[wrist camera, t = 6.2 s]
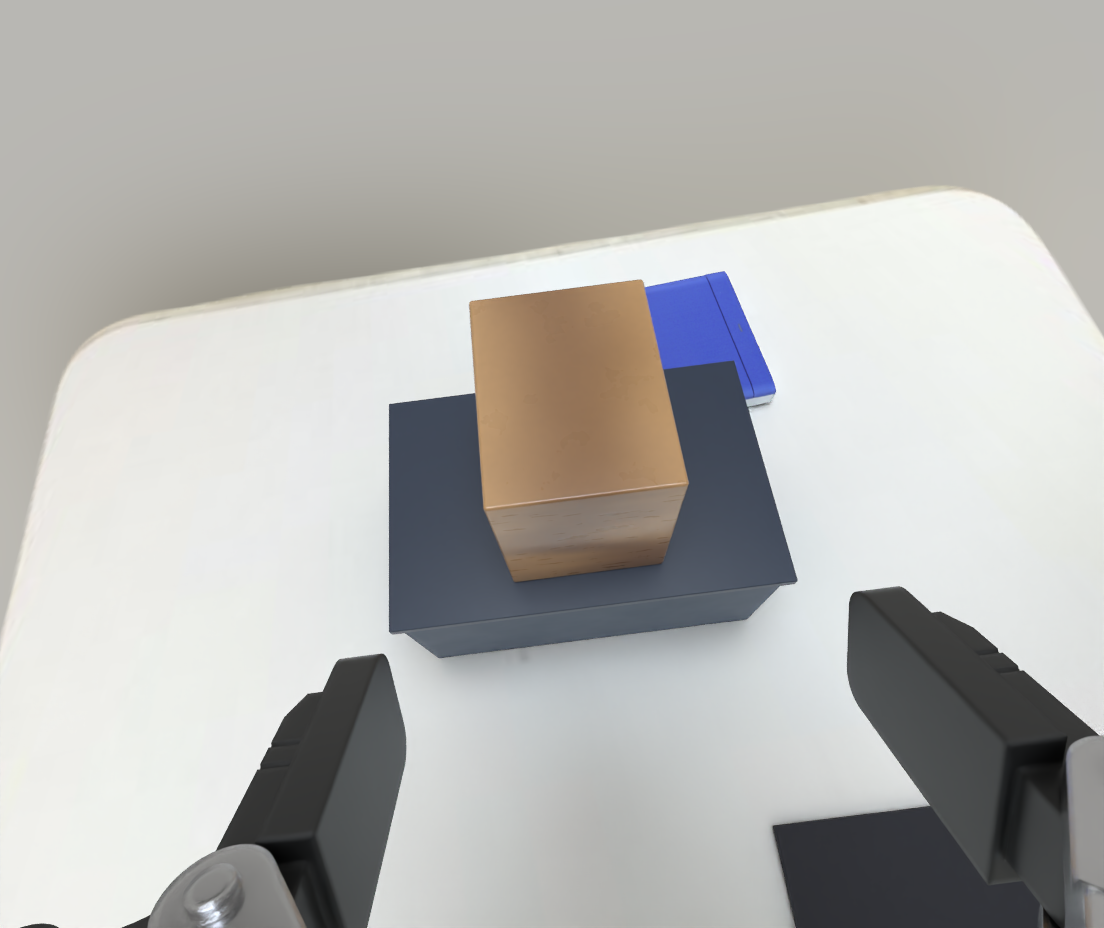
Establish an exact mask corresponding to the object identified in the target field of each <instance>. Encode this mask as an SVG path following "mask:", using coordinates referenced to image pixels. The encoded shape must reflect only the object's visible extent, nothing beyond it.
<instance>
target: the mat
mask: <svg viewBox="0 0 1104 928" xmlns="http://www.w3.org/2000/svg"><path fill="white" fill-rule="evenodd" d="M773 829H774V834H775V838H776V842H777V847H778V851H779V855H780V860H781V864H782V868H783V873H784V877H785V881H786V886H787V890H788V895H789V899H790V903H791V908H792V912H793V916H794V921H795V925H796V928H1038V914H1039V907H1040V903H1039V901H1038V900H1037V899H1036V897H1035V896H1034V895H1033V894H1032V892H1031V891H1030V890H1029V889H1028V887H1027V886H1026V885H1025V883H1024V882H1023V881H1019V882H1011V883H1003V884H995V885H987V883H986V882H985V881H984V879H983V878H982V876H981V875H980V874H979V872H978V871H977V869H976V868H975V867H974V865H973V864H972V863H971V861H970V860H969V858H968V857H967V856H966V854H965V853H964V851H963V850H962V849H961V847H960V846H959V845H958V843H957V842H956V840H955V839H954V838H953V836H952V835H951V833H950V832H949V831H948V829H947V828H946V827H945V825H944V824H943V822H942V821H941V820H940V818H939V817H938V815H937V814H936V813H935V811H934V810H933V809H932V807H931V806H927V807H919V808H911V809H903V810H895V811H887V812H879V813H871V814H863V815H855V816H847V817H839V818H831V819H823V820H815V821H807V822H799V823H791V824H783V825H775V826H773Z"/></svg>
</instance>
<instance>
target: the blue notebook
mask: <svg viewBox="0 0 1104 928" xmlns="http://www.w3.org/2000/svg"><path fill="white" fill-rule="evenodd" d="M645 292H646V296H647V301H648V305H649V309H650V314H651V318H652V323H653V327H654V331H655V336H656V340H657V345H658V349H659V354H660V358H661V362H662V367H663V369H670V368H678V367H685V366H693V365H701V364H709V363H717V362H725V361H733V360H734V361H735V365H736V368H737V372H738V375H739V379H740V382H741V386H742V389H743V393H744V396H745V400H746V403H747V407H748V406H754V405H759V404H763V403H768V402H771V401H772V399H773V396H774V394H775V392H776V388H775V385H774V382H773V379H772V377H771V374H770V372H769V369H768V367H767V365H766V363H765V360H764V358H763V356H762V353H761V351H760V349H759V346H758V344H757V342H756V340H755V337H754V335H753V333H752V331H751V328H750V326H749V324H748V322H747V319H746V317H745V315H744V312H743V310H742V308H741V305H740V303H739V301H738V298H737V296H736V294H735V291H734V289H733V287H732V285H731V282H730V280H729V278H728V276H727V274H726V273H725V272H724V271H723V272H718V273H713V274H707V275H704V276H699V277H694V278H689V279H684V280H679V281H674V282H669V283H664V284H660V285H654V286H649V287H645Z"/></svg>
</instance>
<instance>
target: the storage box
mask: <svg viewBox="0 0 1104 928" xmlns="http://www.w3.org/2000/svg"><path fill="white" fill-rule="evenodd" d="M663 371H664V376H665V380H666V384H667V389H668V393H669V398H670V402H671V406H672V411H673V415H674V420H675V424H676V429H677V433H678V437H679V442H680V446H681V451H682V455H683V459H684V464H685V468H686V473H687V477H688V481H689V484H688V488H687V491H686V494H685V497H684V500H683V503H682V506H681V509H680V512H679V515H678V518H677V521H676V524H675V527H674V530H673V533H672V536H671V540H670V543H669V546H668V549H667V552H666V555H665V558H664V561H663V563H662V564H655V565H647V566H639V567H631V568H623V569H615V570H608V571H600V572H592V573H584V574H576V575H568V576H560V577H552V578H544V579H536V580H528V581H520V582H514V581H513V579H512V576H511V574H510V571H509V569H508V567H507V564H506V562H505V559H504V557H503V555H502V552H501V550H500V547H499V545H498V543H497V540H496V538H495V535H494V533H493V531H492V528H491V526H490V524H489V521H488V519H487V516H486V514H485V512H484V509H483V496H482V482H481V467H480V453H479V439H478V424H477V410H476V396H475V393H473V394H466V395H458V396H450V397H442V398H434V399H426V400H418V401H411V402H403V403H395V404H389V632H390V633H391V634H400V633H406V634H407V635H409V636H410V637H411V638H413V639H414V640H415V641H417V642H418V643H419V644H421V645H422V646H423V647H425V648H426V649H427V650H429V651H430V652H431V653H433V654H434V655H435V656H437V657H438V658H443V657H451V656H459V655H466V654H474V653H482V652H490V651H498V650H506V649H514V648H522V647H530V646H538V645H546V644H554V643H562V642H570V641H578V640H586V639H594V638H602V637H610V636H618V635H626V634H634V633H641V632H649V631H657V630H665V629H673V628H681V627H689V626H697V625H705V624H713V623H721V622H729V621H737V620H745V619H748V618H749V617H750V616H751V615H752V614H753V613H754V611H755V610H756V609H757V608H758V607H759V606H760V605H761V604H762V603H763V602H764V601H765V600H766V599H767V598H768V597H769V596H770V595H771V594H772V593H773V592H774V591H775V590H776V589H777V588H778V587H779V586H782V585H790V584H795V583H796V582H797V577H796V573H795V570H794V567H793V563H792V560H791V556H790V553H789V549H788V546H787V542H786V539H785V535H784V532H783V528H782V525H781V521H780V518H779V514H778V511H777V507H776V504H775V500H774V497H773V494H772V490H771V487H770V483H769V480H768V476H767V473H766V469H765V466H764V462H763V459H762V455H761V452H760V448H759V445H758V441H757V438H756V434H755V431H754V427H753V424H752V421H751V417H750V414H749V410H748V407H747V403H746V400H745V396H744V393H743V389H742V386H741V382H740V379H739V375H738V372H737V368H736V365H735V361H734V360H733V361H725V362H717V363H709V364H701V365H693V366H685V367H678V368H670V369H663Z"/></svg>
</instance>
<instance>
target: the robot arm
mask: <svg viewBox="0 0 1104 928" xmlns="http://www.w3.org/2000/svg"><path fill="white" fill-rule="evenodd" d="M847 674H848V680H849V684H850V688H851V691H852V694H853V696H854V698H855V700H856V702H857V704H858V706H859V707H860V709H861V710H862V712H863V713H864V714H865V716H866V717H867V718H868V720H869V721H870V723H871V724H872V725H873V727H874V728H875V730H876V731H877V732H878V734H879V735H880V736H881V738H882V739H883V741H884V742H885V743H886V745H887V746H888V748H889V749H890V750H891V752H892V753H893V754H894V756H895V757H896V759H897V760H898V761H899V763H900V764H901V766H902V767H903V768H904V770H905V771H906V772H907V774H908V775H909V777H910V778H911V779H912V781H913V782H914V784H915V785H916V786H917V788H918V789H919V790H920V792H921V793H922V795H923V796H924V797H925V799H926V800H927V802H928V803H929V804H930V806H931V807H932V809H933V810H934V811H935V813H936V814H937V815H938V817H939V818H940V820H941V821H942V822H943V824H944V825H945V827H946V828H947V829H948V831H949V832H950V833H951V835H952V836H953V838H954V839H955V840H956V842H957V843H958V845H959V846H960V847H961V849H962V850H963V851H964V853H965V854H966V856H967V857H968V858H969V860H970V861H971V863H972V864H973V865H974V867H975V868H976V869H977V871H978V872H979V874H980V875H981V876H982V878H983V879H984V881H985V882H986V883H987V885H995V884H1003V883H1011V882H1019V881H1023V882H1024V883H1025V885H1026V886H1027V887H1028V889H1029V890H1030V891H1031V892H1032V894H1033V895H1034V896H1035V897H1036V899H1037V900H1038V901H1039V903H1040V907H1039V914H1038V928H1104V736H1100V735H1098V734H1097V733H1096V732H1095V731H1094V730H1092V729H1091V728H1090V727H1089V726H1088V725H1087V724H1085V723H1084V722H1083V721H1082V720H1081V719H1080V718H1078V717H1077V716H1076V715H1075V714H1074V713H1073V712H1071V711H1070V710H1069V709H1068V708H1067V707H1065V706H1064V705H1063V704H1062V703H1061V702H1060V701H1058V700H1057V699H1056V698H1055V697H1054V696H1053V695H1051V694H1050V693H1049V692H1048V691H1047V690H1046V689H1044V688H1043V687H1042V686H1041V685H1040V684H1039V683H1037V682H1036V681H1035V680H1034V679H1033V678H1032V677H1030V676H1029V675H1028V674H1027V673H1026V672H1025V671H1020V670H1019V669H1018V665H1016V664H1015V663H1014V662H1013V661H1012V660H1011V659H1009V658H1008V657H1007V656H1006V655H1005V654H1004V653H999V652H998V648H996V647H995V646H994V645H993V644H992V643H991V642H989V641H988V640H987V639H986V638H985V637H984V636H982V635H981V634H980V633H979V632H978V631H977V630H975V629H974V628H973V627H971V626H969V625H967V624H965V623H963V622H961V621H958V620H956V619H954V618H952V617H950V616H948V615H946V614H944V613H942V612H934V613H931V612H930V611H929V610H928V609H927V608H926V607H925V606H924V605H923V604H921V603H920V602H919V601H918V600H917V599H916V598H915V597H914V596H913V595H912V594H910V593H909V592H908V591H907V590H906V589H904V588H903V587H899V586H898V587H890V588H882V589H874V590H866V591H859V592H854V593H853V594H852V595H851V598H850V602H849V622H848V652H847ZM271 744H272V746H271V748H268V750H267V752H266V754H265V756H264V758H263V760H262V762H261V764H260V765H261V768H260V770H257V772H256V774H255V776H254V778H253V780H252V781H251V783H250V785H249V787H248V789H247V791H246V793H245V795H244V797H243V799H242V801H241V803H240V805H239V807H238V809H237V811H236V813H235V815H234V817H233V819H232V821H231V823H230V824H229V826H228V828H227V830H226V832H225V834H224V836H223V838H222V840H221V842H220V844H219V846H218V848H217V850H216V851H215V852H213V853H211V854H209V855H207V856H205V857H203V858H201V859H200V860H198V861H197V862H195V863H194V864H192V865H191V866H190V867H188V868H187V869H186V870H185V871H183V872H182V873H181V874H180V875H179V876H178V877H177V878H176V879H175V880H174V881H173V882H172V883H171V884H170V885H169V886H168V887H167V889H166V890H165V891H164V892H163V894H162V895H161V897H160V898H159V900H158V901H157V903H156V905H155V907H154V908H153V910H152V913H151V915H149V916H147V917H145V918H143V919H141V920H139V921H137V922H135V923H132V924H130V925H127V926H125V927H122V928H367V926H368V921H369V917H370V913H371V908H372V904H373V900H374V895H375V891H376V887H377V883H378V878H379V874H380V870H381V865H382V861H383V857H384V853H385V848H386V844H387V840H388V835H389V831H390V827H391V822H392V818H393V814H394V810H395V805H396V801H397V797H398V792H399V788H400V784H401V780H402V775H403V771H404V766H405V760H406V734H405V727H404V722H403V718H402V714H401V710H400V706H399V702H398V698H397V694H396V690H395V686H394V682H393V678H392V673H391V669H390V665H389V662H388V659H387V657H386V656H385V655H384V654H376V655H368V656H360V657H352V658H345V659H339V660H338V661H337V662H336V664H335V666H334V668H333V670H332V672H331V675H330V677H329V679H328V681H327V683H326V686H325V688H324V690H323V692H318V693H311V694H307V695H306V696H305V697H304V698H303V699H302V700H301V701H300V702H299V703H298V704H297V705H296V706H295V707H294V708H293V709H292V710H291V711H290V712H289V713H288V714H287V715H286V716H285V717H284V719H283V721H282V723H281V725H280V727H279V729H278V731H277V733H276V735H275V737H274V738H273V740H272V742H271ZM21 928H58V927H57V926H54V925H51V924H33V925H28V926H24V927H21Z"/></svg>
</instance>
